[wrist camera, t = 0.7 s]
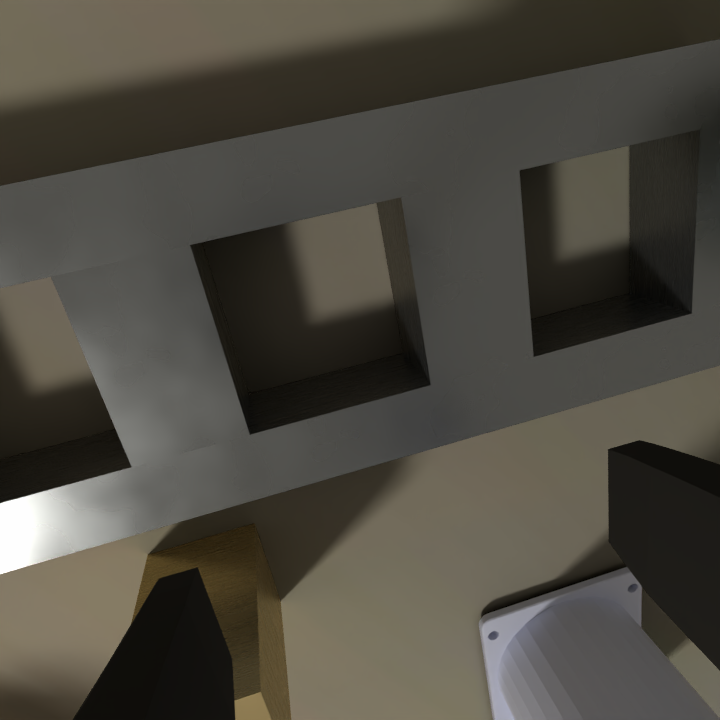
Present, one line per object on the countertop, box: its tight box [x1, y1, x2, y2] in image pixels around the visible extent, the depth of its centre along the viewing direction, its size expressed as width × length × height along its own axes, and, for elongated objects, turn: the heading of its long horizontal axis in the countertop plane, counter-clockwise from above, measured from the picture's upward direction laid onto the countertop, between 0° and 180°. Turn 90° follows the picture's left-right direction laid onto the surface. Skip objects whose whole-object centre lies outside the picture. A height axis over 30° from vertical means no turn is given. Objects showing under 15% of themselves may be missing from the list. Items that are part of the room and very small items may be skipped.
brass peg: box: [131, 523, 291, 720], centre depth 17 cm, size 4×4×7 cm
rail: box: [0, 39, 720, 574], centre depth 16 cm, size 10×28×3 cm, turn 101°
